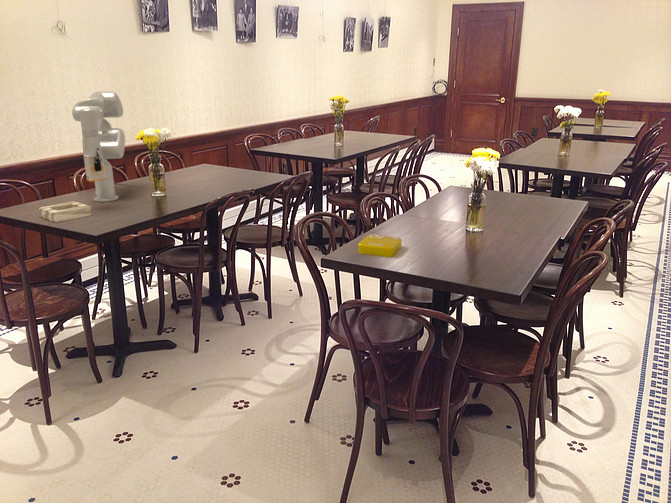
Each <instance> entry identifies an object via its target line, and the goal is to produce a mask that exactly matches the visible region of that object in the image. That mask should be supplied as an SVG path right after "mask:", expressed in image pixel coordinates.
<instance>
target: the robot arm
mask: <svg viewBox="0 0 671 503" xmlns="http://www.w3.org/2000/svg"><path fill="white" fill-rule="evenodd" d="M71 114H72V118H73V120H74V121H76V122H80V127H81V133H82V134H81V136H82V138H81V139H82V141H81V142H82V155H88V156H90V157H91V158H94V162H95V163H94V167H95V171H101V159H102V154H103V159H104V166H105V174H106V179H105V180H99V181H94V186H95V191H94V194H96V196H94V197H93V200H94V201H95V202H97V203H99V202H100V203H103V202H104V203H105V202H107V203H108V202H114V201H117V200H118V199H120V198H119V196H118V195H117V194H116V190H115V182H114V173H113V167H112V166H113V165H111V163H110V162H109V161H108V160H111V159H122V158H123V156H124V155H125V148H126V147H125V146H126V144H125V143H126V136H125V135H126V134H125V132H124V130H123V129H121V128H119V127H112V124H111V123H110V122H109V121H108V120H107V119H108V118H109V119H110V118H113V119H114V118H120V117H122V116H123V115H124V107H123V104H122V102H121V99H120V97H119V95H118V93H116V92H114V91H95V92H93V93H92V94H91V95H90V96H89V98H88V99H84V100H81V101H78V102H76V103H75V104H74V106H73V108H72V110H71ZM97 155H98V157H96V156H97ZM96 158H97V160H96Z"/></svg>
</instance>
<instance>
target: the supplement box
mask: <svg viewBox="0 0 671 503" xmlns="http://www.w3.org/2000/svg"><path fill="white" fill-rule="evenodd" d="M82 155H83V162H84V168H85V175H86V181H87V182H93V183H94V182H95V181H99V180H105V179H106V174H105V166H104V159H103V154H102V159H101V171H95V167H94V163H95V162H94V158H91V157H90V156H88V155H84V154H82ZM96 157H98V155H97V156H96ZM96 160H97V158H96Z"/></svg>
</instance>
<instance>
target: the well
mask: <svg viewBox="0 0 671 503" xmlns="http://www.w3.org/2000/svg"><path fill="white" fill-rule="evenodd" d="M38 212H39V217H40V218H42V219H45V220H48V221H50V222H53V223H62V222H67V221H70V220H75V219H79V218H85V217H89V216H92V215H93V214H92V207H91V205H88V204H85V203H83V202H78V201H75V200H73V201H68V202H63V203H58V204H52V205H47V206H46V205H45V206H42V207H41V206H40V207H39V208H38Z"/></svg>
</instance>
